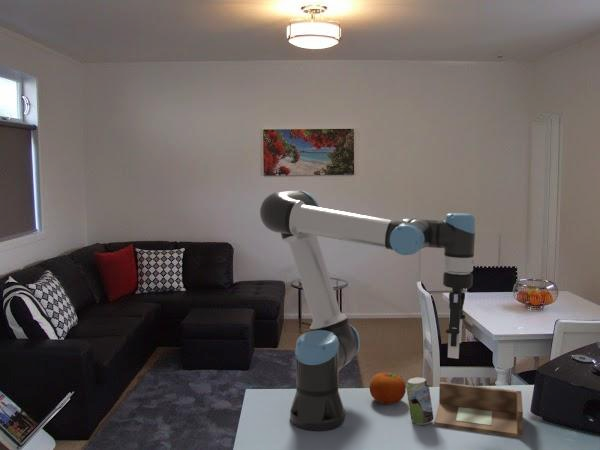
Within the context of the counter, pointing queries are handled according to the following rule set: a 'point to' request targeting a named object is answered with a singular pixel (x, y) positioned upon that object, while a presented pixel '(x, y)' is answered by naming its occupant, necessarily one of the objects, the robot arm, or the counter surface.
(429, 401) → the labeled jar
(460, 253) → the robot arm
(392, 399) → the fruit
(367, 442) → the counter surface
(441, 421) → the tray
